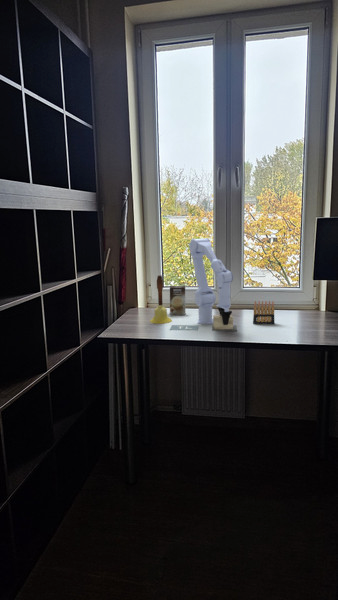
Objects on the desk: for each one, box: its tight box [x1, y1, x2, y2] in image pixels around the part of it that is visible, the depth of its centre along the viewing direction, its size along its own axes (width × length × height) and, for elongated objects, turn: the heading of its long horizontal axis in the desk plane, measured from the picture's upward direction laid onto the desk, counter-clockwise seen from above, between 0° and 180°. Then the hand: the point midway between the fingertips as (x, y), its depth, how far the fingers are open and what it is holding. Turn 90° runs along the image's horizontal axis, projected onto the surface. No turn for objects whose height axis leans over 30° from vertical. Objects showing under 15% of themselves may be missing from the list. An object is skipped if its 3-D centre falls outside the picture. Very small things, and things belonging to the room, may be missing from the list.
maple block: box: [212, 314, 234, 330], centre depth 205 cm, size 5×9×6 cm, turn 91°
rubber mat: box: [211, 324, 238, 332], centre depth 205 cm, size 10×12×1 cm
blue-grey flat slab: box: [169, 324, 200, 331], centre depth 208 cm, size 10×14×1 cm
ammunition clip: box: [252, 300, 276, 325], centre depth 212 cm, size 11×2×12 cm, turn 86°
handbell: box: [149, 274, 173, 325], centre depth 221 cm, size 12×12×25 cm
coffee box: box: [169, 285, 186, 316], centre depth 239 cm, size 9×6×16 cm
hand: (224, 323), depth 205 cm, fingers open, 6 cm apart
